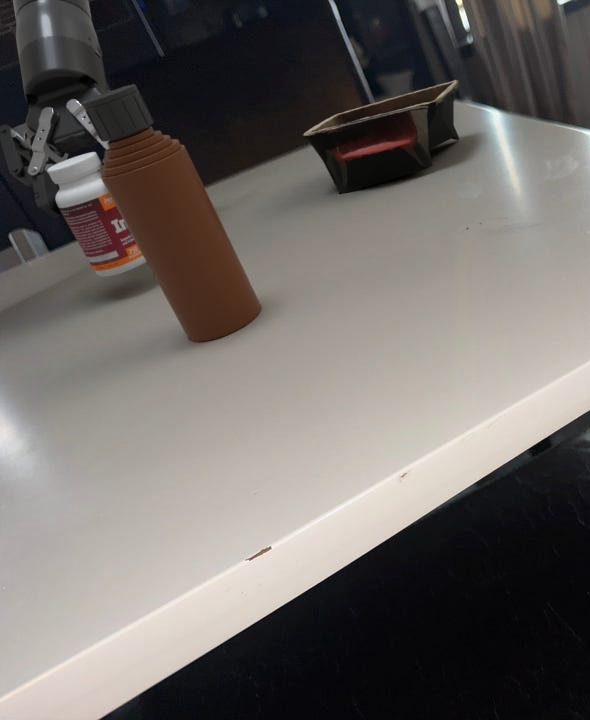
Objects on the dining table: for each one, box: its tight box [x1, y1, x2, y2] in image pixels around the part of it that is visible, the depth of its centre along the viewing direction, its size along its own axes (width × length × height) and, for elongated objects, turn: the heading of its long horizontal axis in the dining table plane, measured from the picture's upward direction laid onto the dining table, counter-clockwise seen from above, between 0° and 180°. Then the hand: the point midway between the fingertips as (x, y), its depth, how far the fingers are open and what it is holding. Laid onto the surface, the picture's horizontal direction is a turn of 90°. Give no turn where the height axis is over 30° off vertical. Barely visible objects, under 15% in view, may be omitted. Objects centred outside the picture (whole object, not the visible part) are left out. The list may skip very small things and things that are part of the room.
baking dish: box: [302, 79, 460, 195], centre depth 89 cm, size 14×18×10 cm
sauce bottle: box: [100, 125, 262, 343], centre depth 59 cm, size 6×6×18 cm
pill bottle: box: [47, 151, 147, 278], centre depth 76 cm, size 6×6×11 cm
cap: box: [82, 84, 154, 142], centre depth 55 cm, size 4×4×3 cm
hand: (86, 202), depth 73 cm, fingers closed on pill bottle, 6 cm apart
